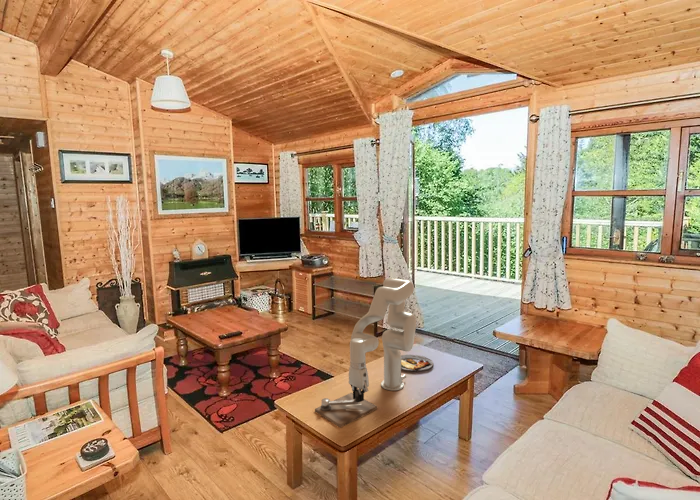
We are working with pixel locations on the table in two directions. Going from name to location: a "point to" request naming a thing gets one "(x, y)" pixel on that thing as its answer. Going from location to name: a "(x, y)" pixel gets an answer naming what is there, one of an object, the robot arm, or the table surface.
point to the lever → (327, 402)
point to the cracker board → (346, 411)
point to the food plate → (415, 363)
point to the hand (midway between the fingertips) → (358, 399)
